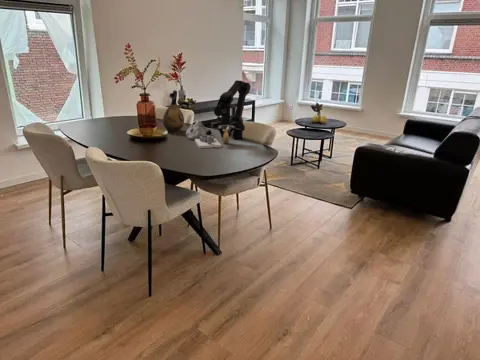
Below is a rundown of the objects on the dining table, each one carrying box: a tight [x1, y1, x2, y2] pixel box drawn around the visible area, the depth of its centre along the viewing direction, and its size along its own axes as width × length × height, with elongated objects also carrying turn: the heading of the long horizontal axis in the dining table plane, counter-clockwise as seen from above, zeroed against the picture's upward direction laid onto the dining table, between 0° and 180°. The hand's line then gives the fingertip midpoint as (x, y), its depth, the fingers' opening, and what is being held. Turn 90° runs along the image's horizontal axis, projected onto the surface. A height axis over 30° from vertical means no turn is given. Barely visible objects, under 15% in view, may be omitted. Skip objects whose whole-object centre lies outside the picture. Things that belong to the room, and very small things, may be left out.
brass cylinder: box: [221, 128, 230, 144], centre depth 227 cm, size 4×4×8 cm
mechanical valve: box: [185, 119, 212, 141], centre depth 242 cm, size 10×18×15 cm
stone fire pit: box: [194, 134, 222, 149], centre depth 224 cm, size 14×18×6 cm
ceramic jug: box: [162, 89, 185, 134], centre depth 252 cm, size 17×15×30 cm
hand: (225, 137), depth 227 cm, fingers closed on brass cylinder, 4 cm apart
